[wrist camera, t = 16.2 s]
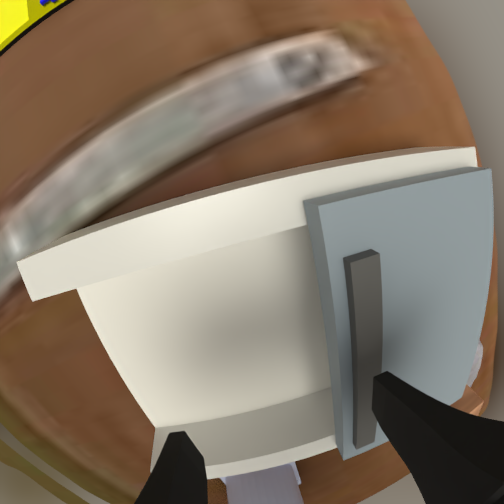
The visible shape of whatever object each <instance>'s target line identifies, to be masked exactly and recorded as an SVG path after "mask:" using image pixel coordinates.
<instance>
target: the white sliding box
mask: <svg viewBox="0 0 504 504" xmlns="http://www.w3.org/2000/svg"><path fill="white" fill-rule="evenodd" d="M469 166H471V167H477V159H476V151H475V147H416V148H408V149H400V150H393V151H386V152H379V153H372V154H366V155H360V156H354V157H348V158H342V159H337V160H331V161H326V162H321V163H315V164H310V165H305V166H301V167H296V168H291V169H286V170H282V171H277V172H273V173H268V174H264V175H260V176H256V177H251V178H247V179H243V180H239V181H235V182H231V183H227V184H224V185H220V186H216V187H212V188H209V189H205V190H201V191H198V192H194V193H191V194H187V195H184V196H180V197H177V198H173V199H170V200H167V201H164V202H160V203H157V204H154V205H151V206H147V207H144V208H141V209H138V210H135V211H132V212H129V213H126V214H123V215H120V216H117V217H114V218H111V219H108V220H106V221H103V222H100V223H97V224H94V225H92V226H89V227H86V228H84V229H81V230H78V231H76V232H73V233H70V234H68V235H65V236H63V237H61V238H59V239H57V240H56V241H54V242H52V243H50V244H48V245H46V246H44V247H43V248H41V249H39V250H37V251H35V252H34V253H32V254H30V255H28V256H26V257H25V258H23V259H21V260H20V261H18V262H17V265H18V268H19V270H20V273H21V275H22V278H23V281H24V283H25V285H26V288H27V290H28V293H29V295H30V297H31V299H32V301H35V300H39V299H42V298H45V297H49V296H52V295H55V294H59V293H62V292H66V291H69V290H72V289H77V291H78V293H79V296H80V298H81V300H82V302H83V305H84V307H85V309H86V311H87V313H88V316H89V318H90V320H91V322H92V324H93V326H94V328H95V330H96V332H97V334H98V336H99V338H100V340H101V342H102V343H103V345H104V347H105V349H106V351H107V353H108V355H109V356H110V358H111V360H112V362H113V363H114V365H115V367H116V369H117V370H118V372H119V374H120V375H121V377H122V379H123V380H124V382H125V383H126V385H127V387H128V388H129V390H130V391H131V393H132V394H133V396H134V398H135V399H136V401H137V402H138V404H139V405H140V407H141V408H142V409H143V411H144V412H145V414H146V415H147V417H148V418H149V419H150V421H151V422H152V424H153V425H154V426H155V436H154V443H153V451H152V460H151V469H150V471H151V472H152V470H153V468H154V466H155V464H156V462H157V460H158V457H159V455H160V453H161V450H162V448H163V446H164V443H165V441H166V439H167V436H168V434H169V433H171V432H179V431H185V432H186V433H187V435H188V436H189V438H190V439H191V441H192V442H193V443H194V445H195V446H196V448H197V449H198V450H199V452H200V453H201V454H202V456H203V457H204V462H205V468H206V475H207V479H213V478H220V477H227V476H233V475H239V474H244V473H249V472H254V471H259V470H263V469H268V468H272V467H276V466H280V465H284V464H287V463H291V462H294V461H298V460H301V459H305V458H308V457H311V456H314V455H317V454H320V453H323V452H326V451H329V450H332V449H334V448H337V445H336V440H335V425H334V412H333V400H332V389H331V379H330V370H329V361H328V352H327V344H326V336H325V328H324V321H323V313H322V306H321V300H320V293H319V286H318V280H317V274H316V268H315V262H314V256H313V250H312V245H311V239H310V234H309V228H308V223H307V218H306V213H305V208H304V203H303V201H304V200H308V199H313V198H317V197H321V196H325V195H330V194H334V193H339V192H343V191H347V190H352V189H356V188H361V187H366V186H370V185H375V184H380V183H384V182H389V181H394V180H399V179H404V178H409V177H414V176H419V175H425V174H430V173H435V172H441V171H446V170H452V169H457V168H463V167H469Z"/></svg>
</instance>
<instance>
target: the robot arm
mask: <svg viewBox="0 0 504 504" xmlns="http://www.w3.org/2000/svg"><path fill="white" fill-rule="evenodd" d="M372 411H373V413H374V415H375V417H376V419H377V421H378V423H379V425H380V427H381V429H382V431H383V432H384V434H385V435H386V436H387V438H388V439H389V441H390V442H391V444H392V445H393V447H394V448H395V450H396V451H397V452H398V454H399V455H400V457H401V458H402V460H403V461H404V462H405V464H406V465H407V467H408V469H409V470H410V472H411V473H412V475H413V478H414V479H415V482H416V484H417V486H418V487H419V490H420V492H421V494H422V496H423V498H424V501H425V503H426V504H504V422H502V421H497V420H492V419H487V418H483V417H479V416H476V415H473V414H470V413H467V412H464V411H461V410H459V409H456V408H454V407H451V406H449V405H447V404H445V403H443V402H440V401H438V400H436V399H434V398H433V397H431V396H429V395H427V394H425V393H423V392H422V391H420V390H418V389H416V388H415V387H413V386H411V385H410V384H408V383H406V382H405V381H403V380H401V379H400V378H398V377H397V376H395V375H393V374H392V373H390V372H389V371H385V372H383V373H381V374H379V375H377V376H374V377H373V393H372ZM220 479H221V480H222V481H223V482H224V484H225V485H226V489H227V498H228V504H304V502H303V499H302V496H301V493H300V490H299V487H298V485H299V484H301V480H300V477H299V474H298V470H297V467H296V464H295V461H294V462H291V463H287V464H284V465H280V466H276V467H272V468H268V469H263V470H259V471H254V472H249V473H244V474H239V475H233V476H227V477H220ZM134 504H208V495H207V475H206V468H205V462H204V457H203V456H202V454H201V453H200V452H199V450H198V449H197V448H196V446H195V445H194V443H193V442H192V441H191V439H190V438H189V436H188V435H187V433H186V432H185V431H179V432H171V433H169V434H168V436H167V439H166V441H165V443H164V446H163V448H162V450H161V453H160V455H159V457H158V460H157V462H156V464H155V466H154V468H153V470H152V472H151V474H150V476H149V478H148V480H147V482H146V484H145V486H144V488H143V489H142V491H141V493H140V495H139V496H138V498H137V500H136V501H135V503H134Z"/></svg>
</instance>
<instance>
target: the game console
mask: <svg viewBox="0 0 504 504" xmlns="http://www.w3.org/2000/svg"><path fill="white" fill-rule="evenodd" d="M72 1H74V0H0V56H1V55H3V54H4V53H5V52H6V51H7V50H8V49H9V48H10V47H11V46H13V45H14V44H15V43H16V42H17V41H18V40H20V39H21V38H22V37H23V36H24V35H26V34H27V33H28V32H29V31H31V30H32V29H33V28H34V27H36V26H37V25H38V24H40V23H41V22H42V21H44V20H45V19H47V18H48V17H49V16H51V15H52V14H54V13H55V12H57V11H58V10H60V9H61V8H63V7H64V6H66V5H67V4H69V3H71V2H72Z"/></svg>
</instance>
